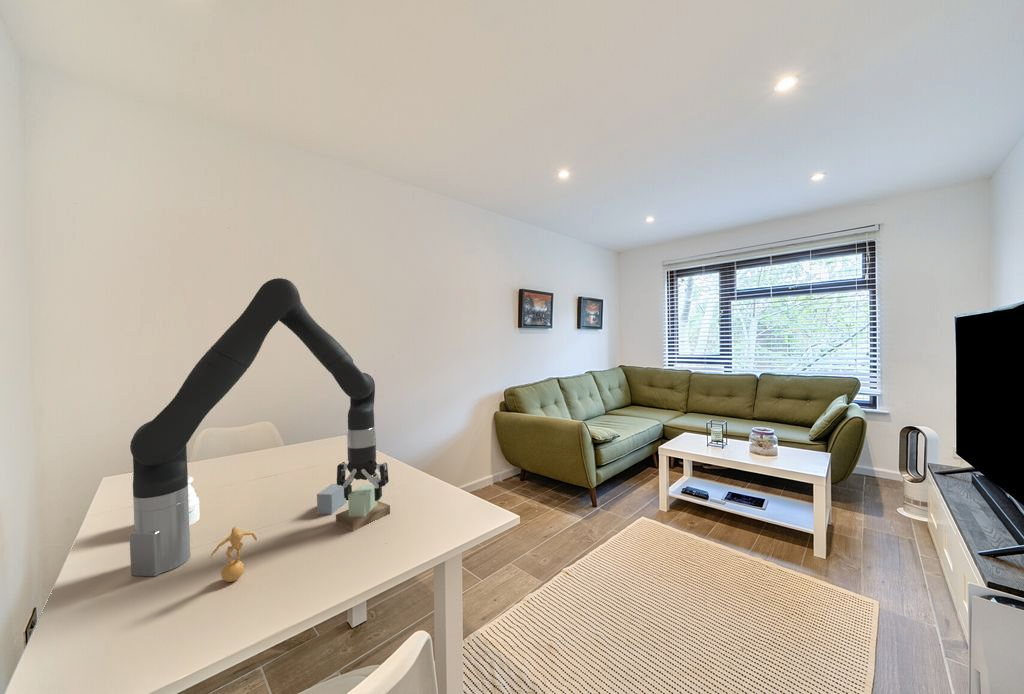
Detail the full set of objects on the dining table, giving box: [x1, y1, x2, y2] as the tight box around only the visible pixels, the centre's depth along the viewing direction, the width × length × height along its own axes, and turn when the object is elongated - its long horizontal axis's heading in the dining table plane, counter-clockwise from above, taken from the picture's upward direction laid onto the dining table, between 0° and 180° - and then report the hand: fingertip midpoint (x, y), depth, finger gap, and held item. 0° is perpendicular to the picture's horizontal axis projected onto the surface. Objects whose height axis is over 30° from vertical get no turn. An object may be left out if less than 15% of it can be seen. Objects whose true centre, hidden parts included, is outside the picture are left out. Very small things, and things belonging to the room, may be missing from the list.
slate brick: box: [316, 483, 347, 515], centre depth 115 cm, size 8×4×6 cm, turn 175°
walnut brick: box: [335, 500, 391, 532], centre depth 108 cm, size 12×8×3 cm, turn 146°
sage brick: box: [347, 483, 377, 517], centre depth 107 cm, size 8×4×6 cm, turn 175°
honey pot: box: [188, 475, 201, 527], centre depth 106 cm, size 13×13×18 cm
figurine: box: [209, 526, 258, 583], centre depth 80 cm, size 8×6×12 cm
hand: (363, 499), depth 107 cm, fingers open, 8 cm apart
